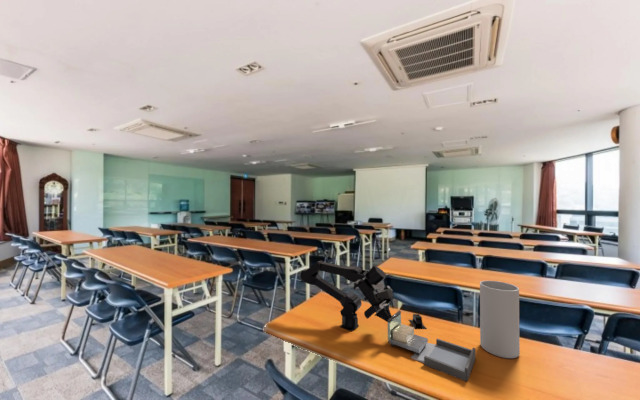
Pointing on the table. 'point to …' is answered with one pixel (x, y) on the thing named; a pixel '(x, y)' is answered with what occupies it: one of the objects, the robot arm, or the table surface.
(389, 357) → the table surface
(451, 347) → the dock
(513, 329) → the cylinder vase
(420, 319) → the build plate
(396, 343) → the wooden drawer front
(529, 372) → the table surface
